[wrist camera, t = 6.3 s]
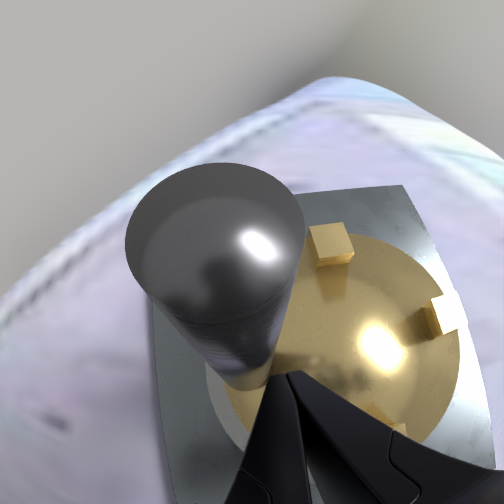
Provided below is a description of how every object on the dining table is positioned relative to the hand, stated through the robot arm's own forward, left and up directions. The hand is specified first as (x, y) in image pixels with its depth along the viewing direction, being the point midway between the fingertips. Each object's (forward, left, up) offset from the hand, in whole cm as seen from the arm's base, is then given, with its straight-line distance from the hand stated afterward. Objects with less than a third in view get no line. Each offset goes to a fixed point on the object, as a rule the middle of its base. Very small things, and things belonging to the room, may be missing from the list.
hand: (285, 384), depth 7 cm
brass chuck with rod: (+3, -3, -7) cm, 8 cm away
